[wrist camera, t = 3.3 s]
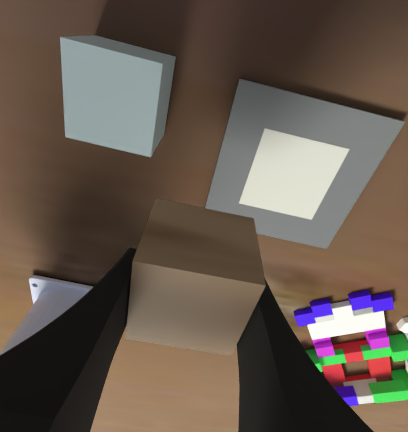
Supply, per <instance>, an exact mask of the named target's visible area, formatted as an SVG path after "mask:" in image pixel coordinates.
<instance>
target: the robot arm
mask: <svg viewBox="0 0 408 432" xmlns="http://www.w3.org/2000/svg"><path fill="white" fill-rule="evenodd" d="M136 251H137V249H134V248H130V249H128V250H127V251H126V253H125V254H124V255H123V256H122V258H121V259H120V260H119V261H118V262H117V263H116V265H115V266H114V267H113V268H112V269H111V270H110V271H109V272H108V273H107V274H106V275H105V276H104V277H103V278H102V279H101V280H100V281H99V282H98V283H97V284H96V285H95V286H94V287H93V286H88V285H83V284H78V283H73V282H68V281H63V280H58V279H53V278H47V277H42V276H37V275H32V276H31V277H30V278H29V283H30V289H31V294H32V299H33V306H32V307H31V309H30V310H29V311H28V313H27V314H26V316H25V317H24V319H23V320H22V322H21V323H20V324H19V326H18V327H17V329H16V330H15V332H14V333H13V335H12V336H11V337H10V339H9V340H8V342H7V343H6V345H5V346H4V348H3V349H2V350H1V352H0V432H90V430H91V426H92V423H93V420H94V416H95V413H96V410H97V406H98V403H99V400H100V397H101V393H102V390H103V387H104V384H105V380H106V377H107V374H108V371H109V368H110V365H111V362H112V359H113V356H114V354H115V351H116V349H117V346H118V344H119V342H120V339H121V337H122V334H123V332H124V329H125V327H126V325H127V317H128V306H129V295H130V284H131V273H132V263H133V259H134V256H135V253H136ZM264 278H265V277H264ZM265 284H266V286H265V288H264V290H263V292H262V294H261V296H260V298H259V300H258V302H257V304H256V306H255V309H254V311H253V313H252V315H251V317H250V319H249V321H248V323H247V325H246V327H245V329H244V331H243V333H242V335H241V337H240V339H239V341H238V343H237V353H238V366H239V384H240V394H239V432H373V431H372V430H371V429H370V428H369V427H368V426H367V425H366V424H365V423H364V422H363V421H362V419H361V418H360V417H359V416H358V415H357V414H356V413H355V412H354V411H353V410H352V409H351V407H350V406H349V405H348V404H347V403H346V402H345V401H344V400H343V398H342V397H341V396H340V395H339V394H338V393H337V391H336V390H335V389H334V388H333V387H332V385H331V384H330V383H329V382H328V380H327V379H326V378H325V377H324V376H323V374H322V373H321V372H320V370H319V369H318V368H317V366H316V365H315V364H314V362H313V361H312V360H311V358H310V357H309V355H308V354H307V352H306V351H305V350H304V348H303V347H302V345H301V343H300V342H299V340H298V339H297V337H296V335H295V334H294V332H293V331H292V329H291V327H290V326H289V324H288V322H287V320H286V318H285V317H284V315H283V313H282V311H281V309H280V308H279V306H278V304H277V302H276V300H275V298H274V296H273V294H272V292H271V290H270V288H269V286H268V284H267V282H266V280H265Z"/></svg>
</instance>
